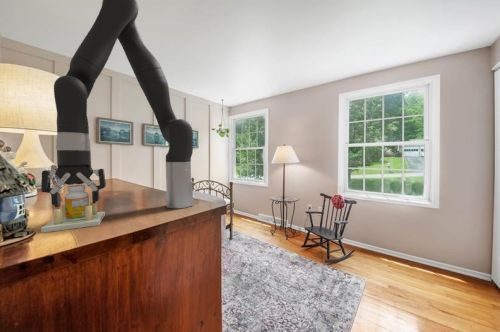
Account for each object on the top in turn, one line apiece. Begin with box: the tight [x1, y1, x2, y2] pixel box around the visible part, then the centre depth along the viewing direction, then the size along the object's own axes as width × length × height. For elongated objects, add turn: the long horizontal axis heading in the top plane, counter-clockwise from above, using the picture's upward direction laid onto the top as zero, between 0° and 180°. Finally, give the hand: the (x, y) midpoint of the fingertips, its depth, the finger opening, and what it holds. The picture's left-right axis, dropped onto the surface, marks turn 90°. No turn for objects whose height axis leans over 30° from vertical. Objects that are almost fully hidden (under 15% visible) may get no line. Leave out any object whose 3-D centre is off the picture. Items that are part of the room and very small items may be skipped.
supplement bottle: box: [64, 184, 90, 221], centre depth 61 cm, size 5×5×10 cm
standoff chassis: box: [40, 201, 106, 233], centre depth 61 cm, size 12×12×5 cm
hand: (76, 204), depth 61 cm, fingers open, 8 cm apart
